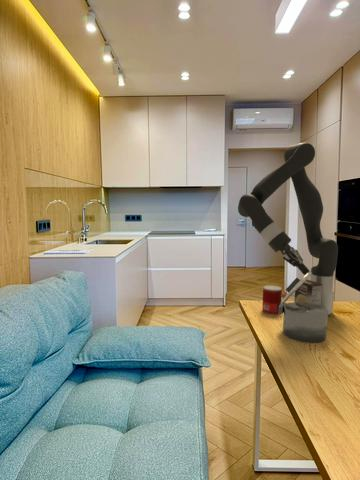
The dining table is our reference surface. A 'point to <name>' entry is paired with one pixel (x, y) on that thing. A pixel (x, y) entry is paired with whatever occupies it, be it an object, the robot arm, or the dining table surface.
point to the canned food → (271, 299)
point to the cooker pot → (304, 321)
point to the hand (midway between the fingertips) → (307, 273)
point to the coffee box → (309, 293)
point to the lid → (294, 287)
